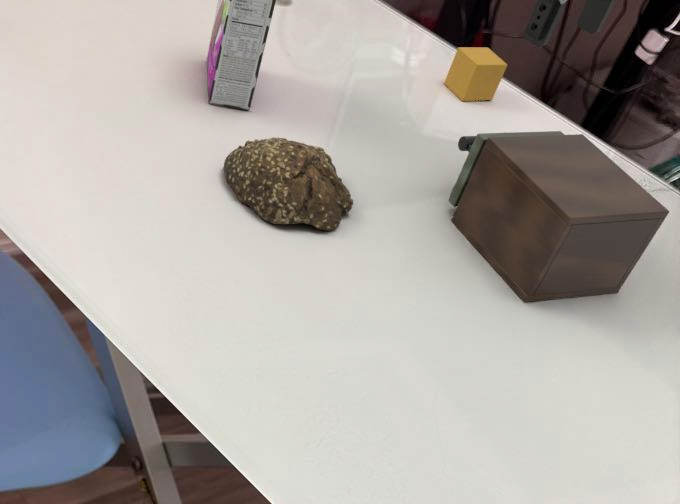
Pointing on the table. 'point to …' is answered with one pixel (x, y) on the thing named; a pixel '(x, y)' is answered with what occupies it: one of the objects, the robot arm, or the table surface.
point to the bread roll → (288, 183)
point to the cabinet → (556, 216)
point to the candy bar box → (237, 50)
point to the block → (475, 73)
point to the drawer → (475, 149)
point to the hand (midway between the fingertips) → (560, 36)
